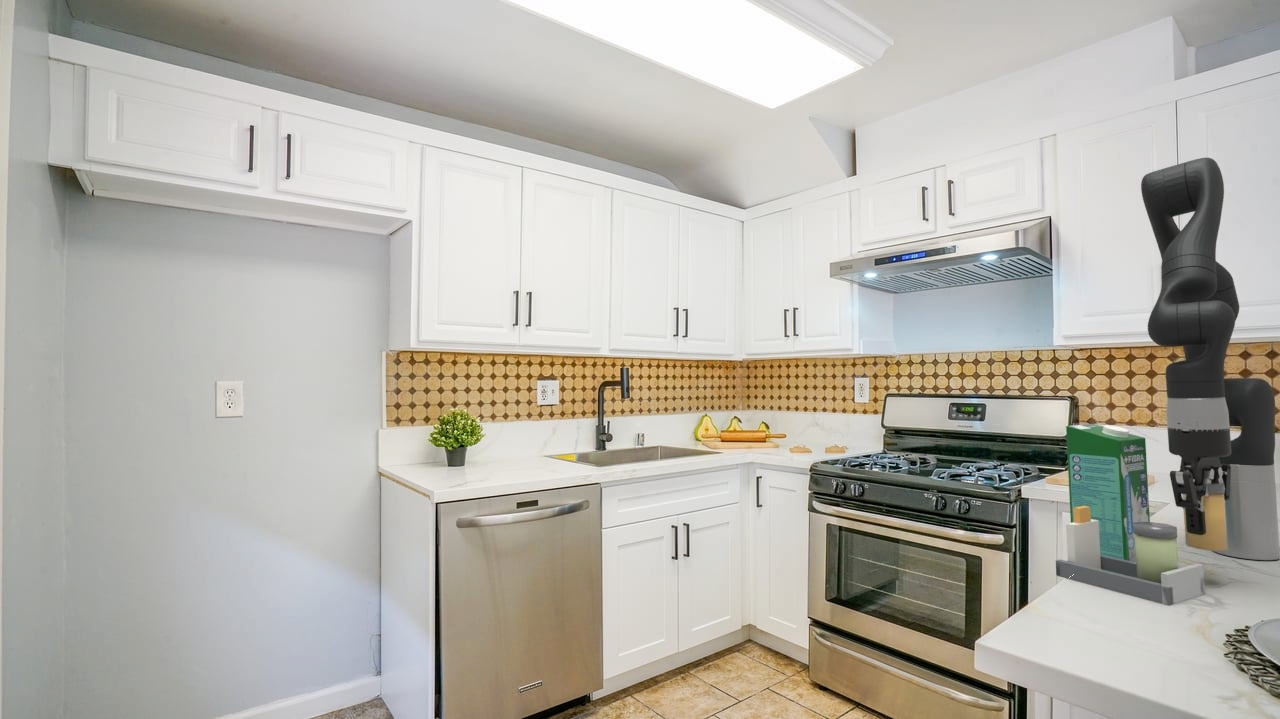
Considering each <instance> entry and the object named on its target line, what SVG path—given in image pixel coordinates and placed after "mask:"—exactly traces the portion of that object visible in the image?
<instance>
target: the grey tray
mask: <svg viewBox="0 0 1280 719" xmlns="http://www.w3.org/2000/svg"><path fill="white" fill-rule="evenodd" d="M1100 558H1101V569H1098V568H1094V567H1089V566H1085V565H1081V564H1077V563H1073V562H1069V561H1068V560H1064V559H1056V560H1055V575H1056V577H1060V578H1064V579H1067V580H1072V581H1076V582H1079V583H1082V584H1086V585H1089V586H1093V587H1098V588H1102V589H1106V590H1107V591H1108V590H1109V591H1113V592H1115V593H1116V592H1117V593H1121V594H1124V595H1128V596H1132V597H1135V598H1138V599H1143V600H1147V601H1151V602H1153V603H1158V604H1160V605H1161V604H1162V605H1165V606H1173V605H1175V604H1178V603H1179V604H1180V603H1181V602H1185V601H1189V600H1192V599H1195V598H1198V597H1201V596H1204V595H1206V586H1205V584H1206V583H1205V568H1204V567H1205V566H1204V564H1201V563H1194V564H1190V565H1186V566H1182V567H1178V569H1175V570H1171V571H1167V572H1164V573H1161V584H1160V583H1156V582H1152V581H1147V580H1143V579H1139V578H1137V569H1136V562H1132V561H1128V560H1123V559H1119V558H1114V557H1110V556H1105V555H1101V554H1100ZM1073 574H1074V575H1073ZM1072 575H1073V576H1072ZM1070 576H1071V577H1070ZM1069 577H1070V578H1069ZM1068 578H1069V579H1068Z"/></svg>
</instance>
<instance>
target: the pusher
mask: <svg viewBox="0 0 1280 719" xmlns="http://www.w3.org/2000/svg"><path fill="white" fill-rule="evenodd" d="M1073 513H1074V522H1073V523H1071V522H1068V523H1066V524H1065V526H1066V527H1065V528H1066V546H1067V547H1066V549H1067V551H1066V552H1067V561H1069V562H1073V563H1077V564H1081V565H1085V566H1089V567H1094V568H1098V569H1101V558H1100V538H1099V520H1093V519H1091V513H1090V507H1088V506H1081V507H1075V508H1073Z"/></svg>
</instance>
